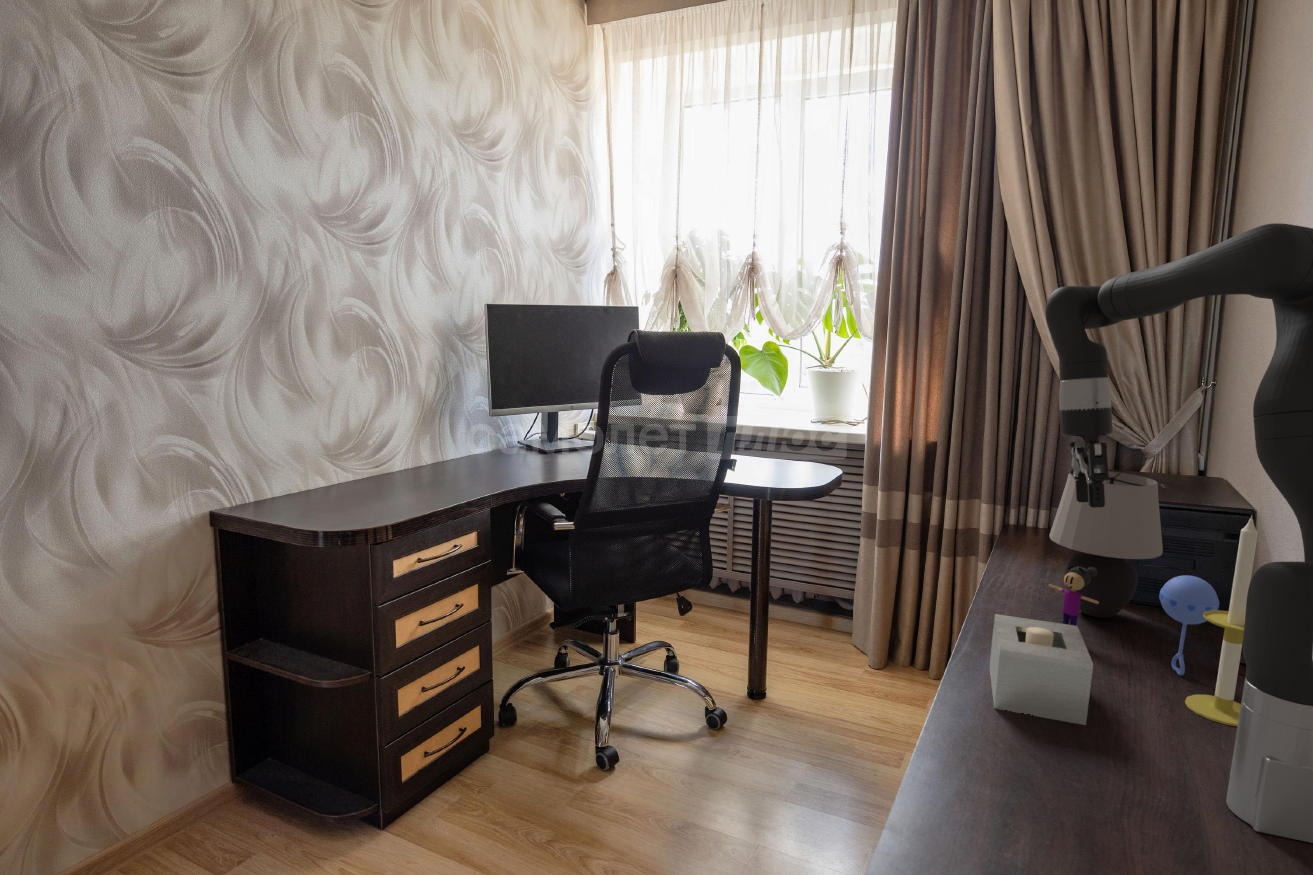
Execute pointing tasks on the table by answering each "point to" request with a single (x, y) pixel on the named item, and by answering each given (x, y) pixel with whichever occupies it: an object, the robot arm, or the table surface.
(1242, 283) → the robot arm
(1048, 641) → the capsule
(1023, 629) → the white hollow block
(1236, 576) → the candle
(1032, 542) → the table surface
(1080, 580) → the toy
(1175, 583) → the baby rattle
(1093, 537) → the table lamp
